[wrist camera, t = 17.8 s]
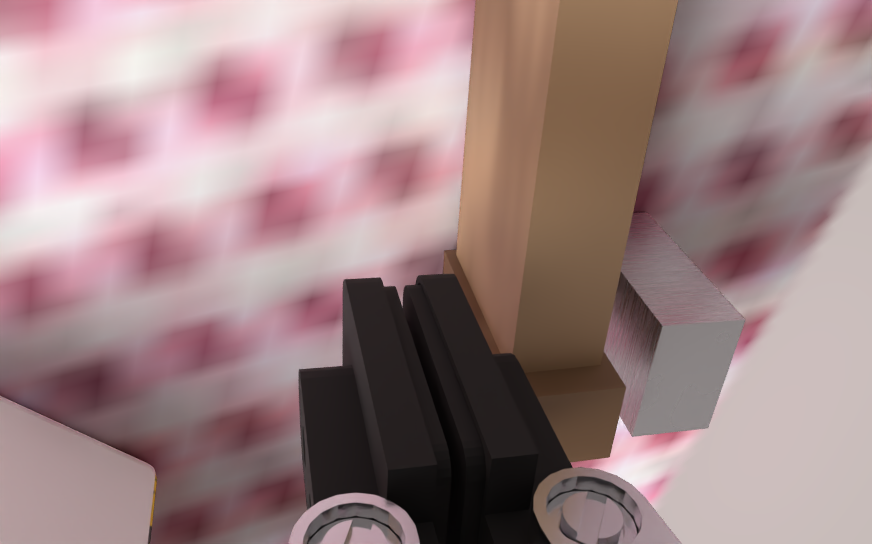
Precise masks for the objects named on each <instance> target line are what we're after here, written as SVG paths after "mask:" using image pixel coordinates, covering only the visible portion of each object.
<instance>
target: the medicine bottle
mask: <svg viewBox="0 0 872 544" xmlns="http://www.w3.org/2000/svg"><path fill="white" fill-rule="evenodd" d="M156 484H157V477H156V473H155V470H154V468H153V467H152V466H151V465H150V464H148V463H146V462H144V461H141V460H139V459H137V458H135V457H133V456H131V455H128V454H126V453H124V452H122V451H120V450H117V449H115V448H113V447H111V446H109V445H107V444H104V443H102V442H100V441H98V440H96V439H93V438H91V437H89V436H87V435H85V434H83V433H80V432H78V431H76V430H74V429H72V428H69V427H67V426H65V425H63V424H61V423H59V422H56V421H54V420H52V419H50V418H48V417H45V416H43V415H41V414H39V413H37V412H35V411H32V410H30V409H28V408H26V407H24V406H21V405H19V404H17V403H15V402H13V401H11V400H8V399H6V398H4V397H2V396H0V544H150V539H151V530H152V521H153V511H154V502H155V493H156Z"/></svg>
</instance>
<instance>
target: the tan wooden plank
mask: <svg viewBox="0 0 872 544" xmlns="http://www.w3.org/2000/svg"><path fill="white" fill-rule="evenodd" d="M677 4H678V0H476V3H475V16H474V29H473V42H472V55H471V68H470V81H469V94H468V107H467V120H466V133H465V146H464V159H463V172H462V185H461V198H460V211H459V224H458V237H457V250H444V265H443V274H455V275H456V277H457V279H458V281H459V283H460V285H461V288H462V290H463V292H464V294H465V296H466V298H467V300H468V303H469V305H470V307H471V309H472V311H473V313H474V316H475V318H476V320H477V322H478V324H479V326H480V328H481V331H482V333H483V335H484V337H485V339H486V341H487V343H488V346H489V348H490V350H491V352H492V354H502V353H512V354H514V355H515V357H516V358H517V359H518V361H519V363H520V365H521V367H522V369H523V371H524V373H525V375H526V377H527V379H528V381H529V383H530V385H531V387H532V388H533V390H534V392H535V394H536V396H537V398H538V400H539V402H540V404H541V406H542V408H543V410H544V412H545V414H546V416H547V418H548V420H549V422H550V424H551V426H552V428H553V430H554V432H555V434H556V436H557V438H558V440H559V442H560V444H561V446H562V448H563V450H564V452H565V454H566V456H567V458H568V459H569V461H570V462H577V461H585V460H592V459H600V458H608V457H610V453H611V449H612V444H613V440H614V436H615V432H616V428H617V424H618V420H619V415H620V411H621V407H622V403H623V399H624V395H625V390H626V386H625V384H624V383H623V381H622V380H621V378H620V376H619V375H618V373H617V372H616V370H615V368H614V367H613V365H612V364H611V362H610V360H609V359H608V357H607V356H606V354H605V352H604V347H605V342H606V338H607V333H608V328H609V323H610V319H611V314H612V309H613V305H614V300H615V295H616V291H617V286H618V281H619V277H620V272H621V267H622V262H623V258H624V253H625V248H626V244H627V239H628V234H629V230H630V225H631V220H632V215H633V211H634V206H635V201H636V197H637V192H638V187H639V183H640V178H641V173H642V168H643V164H644V159H645V154H646V150H647V145H648V140H649V136H650V131H651V126H652V121H653V117H654V112H655V107H656V103H657V98H658V93H659V89H660V84H661V79H662V75H663V70H664V65H665V60H666V56H667V51H668V46H669V42H670V37H671V32H672V28H673V23H674V18H675V13H676V9H677Z"/></svg>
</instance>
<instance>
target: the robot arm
mask: <svg viewBox="0 0 872 544" xmlns="http://www.w3.org/2000/svg"><path fill="white" fill-rule="evenodd" d="M299 406H300V429H301V446H302V460H303V471H304V482H305V492H306V503H307V511H305V512H304V513H303V515H302V516H301V517H300V518H299V520H298V521H297V522H296V524H295V525H294V527H293V530H292V533H291V536H290V539H289V543H288V544H682V543H681V542H680V541H679V539H678V538H677V537H676V536H675V534H674V533H673V532H672V531H671V529H670V528H669V527H668V526H667V525H666V523H665V522H664V521H663V519H662V518H661V517H660V516H659V514H658V513H657V512H656V511H655V509H654V508H653V507H652V505H651V504H650V503H649V502H648V500H647V499H646V498H645V497H644V496H643V495H642V494H641V493H640V492H639V491H638V490H637V489H636V488H635V487H634V486H633V485H632V484H630V483H628V482H627V481H625V480H623V479H622V478H620V477H618V476H617V475H614V474H611V473H608V472H605V471H602V470H599V469H592V468H584V467H578V468H573V467H572V465H571V463H570V461H569V459H568V458H567V456H566V454H565V452H564V450H563V448H562V446H561V444H560V442H559V440H558V438H557V436H556V434H555V432H554V430H553V428H552V426H551V424H550V422H549V420H548V418H547V416H546V414H545V412H544V410H543V408H542V406H541V404H540V402H539V400H538V398H537V396H536V394H535V392H534V390H533V388H532V387H531V385H530V383H529V381H528V379H527V377H526V375H525V373H524V371H523V369H522V367H521V365H520V363H519V361H518V359H517V358H516V357H515V355H514V354H512V353H502V354H492V352H491V350H490V348H489V346H488V343H487V341H486V339H485V337H484V335H483V333H482V331H481V328H480V326H479V324H478V322H477V320H476V318H475V316H474V313H473V311H472V309H471V307H470V305H469V303H468V300H467V298H466V296H465V294H464V292H463V290H462V288H461V285H460V283H459V281H458V279H457V277H456V275H455V274H436V275H419V276H418V277H417V280H416V285H407V286H405V287H404V293H403V308H402V305H401V302H400V299H399V296H398V293H397V290H396V287H395V286H389V287H384V286H383V282H382V280H381V278H363V279H345V280H344V282H343V366H337V367H324V368H312V369H299Z"/></svg>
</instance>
